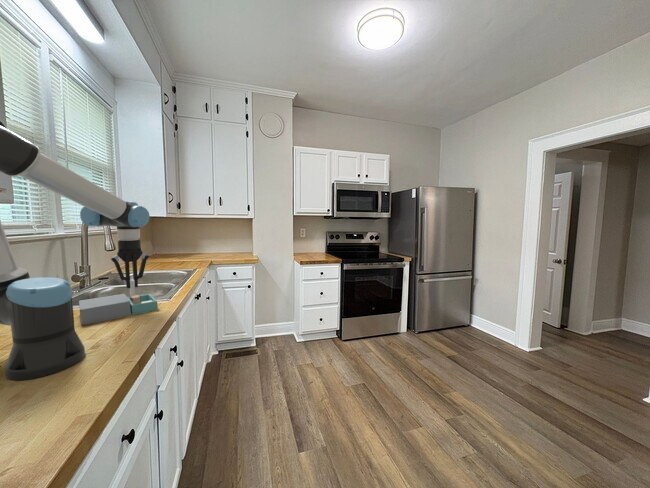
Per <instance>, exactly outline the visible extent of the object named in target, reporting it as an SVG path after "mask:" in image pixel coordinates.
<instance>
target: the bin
mask: <svg viewBox="0 0 650 488" xmlns="http://www.w3.org/2000/svg"><path fill="white" fill-rule="evenodd" d="M138 296H139V297H140V304H135V305H134V304H133V303H132V300H131V296H129V297H128V296H127V298H128V299H129V301H130V309H131V316H135V315H139V314H144V313H149V312H150V313H151V312H154V311H158V300H157V299H156V298H155V297H154V296H153V295H152V294H151V293H147V294H141V295H138ZM149 300H152V302H146V303H141V302H144V301H149Z"/></svg>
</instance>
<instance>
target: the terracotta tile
mask: <svg viewBox="0 0 650 488" xmlns="http://www.w3.org/2000/svg"><path fill="white" fill-rule="evenodd" d="M139 296H140V295H139V294H135V296H131V295H130V297H131V300H132V303H133V304H134V305H135V304H140V297H139Z"/></svg>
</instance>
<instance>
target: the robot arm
mask: <svg viewBox="0 0 650 488" xmlns="http://www.w3.org/2000/svg"><path fill="white" fill-rule="evenodd" d="M0 172H1V173H3V174H4V175H8V176H9V177H18V176H19V177H22V178H24V179H25V180H28V181H29V182H31V183H34V184H36V185H37V186H40V187H42V188H45V190H48V191H51V192H53V193H55V194H57V195H59V196H61V197H63V198H66V199H68V200H70V201H72V202H74V203H76V204H78V205H81V206H83V207H82V208H81V209H80V211H79V212H80V213H79V215H80V216H79V217H80V220H81V222H82V224H84V225H85V226H87V227H116V230H117V231H116V232H117V247H118V248H117V250H118V251H117V253H116V255H114V256H112V257H110V260H111V262H112V263H114V266H115V269H116V271H117V274H118V276H119V278H120V280H121V281H125V287H126V288H127V289H129V295H130V297H131V296H135V295H136V288H138V287H139V285H138V284H139V281H138V280H139V279H142V278H143V277H144V273H145V268H146V263H147V260H148V259H149V257H150V255H148V254H146V253H143V251H142V247H141V246H142V245H141V240H140V239H141V229H140V227H144V226H146V225H147V224H148V223H149V221H150V216H151V215H150V212H149V210H148V209H147V208H146V207H145V206H142V205H138V203H137V202H136V201H125V200H124V199H121V198H120V197H118V196H117V195H115V194H113V193H111V192H109V191H108V190H106V189H105V188H104V187H100V186H99V185H97V184H95V183H94V182H92V181H90V180H88V179H87V178H85V177H83V176H81V174H79V173H76V172H74V171H73V170H72V169H70V168H68V167H66V166H65V165H63V164H61V163H60V162H58V161H55V160H54V159H52V158H50V157H48V156H46V155H45V154H44V153H41V150H40V148H39V146H37V145H36V144H34V143H32V142H31V141H29V140H28V139H25V138H24V137H22V136H20V135H19V134H17V133H15V132H14V131H11V130H10V129H7V128H6V127H4V126H2V125H0ZM140 258H141V261H140V265H139V270H138V261H139V259H140ZM120 259H121V260H122V262H124V273H123V270H122V268H121V265H120V263H119V260H120ZM130 262H131V265H132V279H131V270H130ZM124 274H125V276H124ZM73 295H74V293H73V290H72V287H71V283H70V282H69V281H68V280H67V279H63V278H60V277H53V276H52V277H51V276H50V277H49V276H48V277H45V276H44V277H43V276H42V277H40V276H39V277H30V273H29V271H28V270H27V269H26V268H23V267H20V266H18V264H17V262H16V259H15V256H14V254H13V250H12V249H11V245H10V243H9V240H8V236H7V235H6V232H5V229H4V227H3V224H2V221H1V220H0V325H4V326H10V329H11V337H12V347H11V350H10V352H9V355H8V358H7V361H6V362H5V366H4V367H5V368H4V372H5V373H4V374H5V377H6V378H7V379H9V380H13V381H25V380H32V379H38V378H42V377H46V376H49V375H52V374H53V375H54V374H56V373H58V372H61V371H64V370H66V369H68V368H70V367H72V366H74V365H76V364H77V363H79V362H81V361H82V359H84V358H85V357H86V351H85V345H84V344H83V342H82V340H81V339H80V337H79V335H78V333H77V332H76V329H75V327H76V326H75V315H74V306H73Z"/></svg>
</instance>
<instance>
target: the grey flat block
mask: <svg viewBox="0 0 650 488" xmlns="http://www.w3.org/2000/svg"><path fill="white" fill-rule="evenodd" d="M78 305H79V306H78V307H79V308H78V309H79V316H80V325H81V326H85V325H89V324H95V323H99V322H104V321H110V320H115V319H119V318H120V319H121V318H124V317H129V316H132V314H131V309H130V301H129V299H128V296H127V295H126V293H120V294H114V295H107V296H101V297H95V298H88V299H81V300H78Z"/></svg>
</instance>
